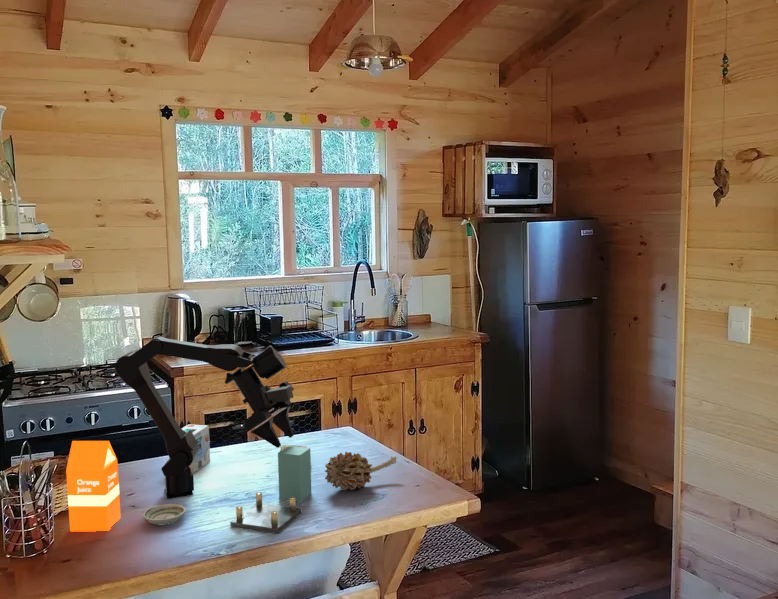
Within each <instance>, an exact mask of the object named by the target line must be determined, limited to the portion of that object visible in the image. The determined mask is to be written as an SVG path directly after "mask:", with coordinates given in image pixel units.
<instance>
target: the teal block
mask: <svg viewBox="0 0 778 599" xmlns="http://www.w3.org/2000/svg"><path fill="white" fill-rule="evenodd" d="M296 446H297V445H294V446H288V447H286V448H285V449H283V450H282V451H278V452H277V463H278V470H277V471H278V494H279V495H278V499H279V500H280V499H283V500H282V501H287V500H290V497H295V499H296V501H298V503H302V502H303V501H304V500H305V499H307V498H308V497H309V496H310V495H312V471H311V470H312V464H311V463H312V462H311V447H307V448H305V447H296Z"/></svg>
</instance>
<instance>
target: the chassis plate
mask: <svg viewBox="0 0 778 599" xmlns="http://www.w3.org/2000/svg"><path fill="white" fill-rule="evenodd" d="M296 503H297V502H296V499H295V497H290V501H289V506H285V505H280V504H279V505H278V504H270V503H263V493H262V492H256V493H255V503H254V504H253V505H252V506H250V507H249V508H247V509H246V510H245V511H243V506H241V505H240V506H236V508H235V510H236V511H235V514H236V516H235V518H233V520H231V521H230V527H231V528H235V529H241V528H242V529H243V530H249V531H256V532H261V533H262V532H263V533H267V534H269V533H270V534H274V535H278V534H279V533H280V532H282V531H283V530H284V529H286V527H287V526H288V525H290V524H291V523H292V522H294V520H296V519H297V518H298V517H299V516H300V515H301V514H302V508H301V507H297V506H296Z"/></svg>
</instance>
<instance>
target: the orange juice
mask: <svg viewBox="0 0 778 599" xmlns="http://www.w3.org/2000/svg"><path fill="white" fill-rule="evenodd" d="M68 455H69V456H68V459H67V460H68V461H67V465H66V469H65V474H66V485H67V486H66V487H67V488H66V489H67V506H68V518H69V531H70V533H71V532H72V533H73V532H76V533H77V532H86V533H87V532H89V533H90V532H93V533H94V532H96V531H108V532H109V531H110V530H111V529H112V528H113V527H114V526H115V525H116V524H117V523H118V522H119V520H121V518H122V517H121V503H120V501H121V500H120V497H121V496H120V493H121V492H120V482H119V467H118V466H119V465H118V464H119V463H118V458H117V456H116V453H115V452H114V449H113V447H112V445H111V442H110V440H72V441H71V446H70V451H69V454H68ZM116 522H117V523H116ZM115 523H116V524H115ZM114 524H115V525H114ZM113 525H114V526H113ZM112 526H113V527H112ZM111 527H112V528H111Z"/></svg>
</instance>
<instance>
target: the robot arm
mask: <svg viewBox="0 0 778 599" xmlns="http://www.w3.org/2000/svg"><path fill="white" fill-rule="evenodd" d="M158 355H162V356H168V357H174V358H179V359H186V360H192V361H198V362H203V363H206V364H208V365H211V366H212V367H215V368H218V369H220V370H223V371H225V372H226V371H227V373H226V376H225V377H226V378H225V380H224V384H230V383H233V382H234V384H235V386H236V388H238V390H239V392H240V394H241V395H242V397H243V398H244V399H242V403H243V404H245V405H246V404H248V406H249V407H250V409H251V412H252V413H251V416H249V417H247V418H246V419H244V420H243V425H242V426H243V428H244V430H245V431H246V432H247V433H248V432H250V434H253V435H255V436H258V437H259V438H261V439H263V440H264V441H266V442H268V444H270V445H272V446H274V447H275V448H277V449H279V448H281V446H282V444H281V442H280V439H279V437H278V435H277V433H276V431H275V429H274V427H273V424H274V426H276V427H277V428H278V429H280V430H281V432H283V433H284V434H285V435H286V436H287V437H288V438H292V437H294V432H293V429H292V428H293V427H292V425H291V421H290V417H289V413H290V409H291V406H292V405H291V404H292V402H291V399H293V398H294V394H293V392H294V389H295V388H294V387H293V386H292V384H290V383H289V381H282V382H280V383H279V386H278V387H275V388H271V387H270V385H268V384H267V385H264V383H263V382H262V380H261V379H266V380H269V379H270V378H273V377H274V376H275V375H277V374H278V373H280V372H281V371H283V370H284V369H286V368H287V363H286V361H285V359H284V357H283V356H282V355H281V353H279V352H278V351H277V349H275V348H274V347H273V346H272V345H269V346H267V347H266V348H265V349H264V350H262V351H261V352H260V353H258V354H257V355H256V354H253V353H250V352H248V351H245V350H243V348H242V347H241V346H239V344H232V343H230V344H227V343H226V344H225V343H224V344H223V343H221V344H214V345H213V344H211V345H209V344H202V343H196V342H191V341H190V342H189V341H184V340H179V339H171V338H165V337H163V336H160V335H159V336H156V337H153V338H152V339H151V340H150V341H148V343H147V344H145V345H144V346H142V347H141V348H139V349H138V350H136V351H135V350H133V351H130V352H127V353H125V354H124V355H122V356H120V357H119V358H118V359H117V360H116V362H115V365H114V371H115V372H116V375H118V377H119V378H120V379H121V380H122V381H123V383H125V385H127V386H128V387H130V388H131V389H133V390H134V392H135V393H136V395H137V396H138V397H139V399H140V401H141V403H142V404H143V406H144V407H145V409H146V411H147V413H148V414H149V416H150V417H151V419H152V421H153V422H154V423H155V425H156V427H157V429H158V430H159V432H160V433H161V436H162V437H163V439H164V445H165V448H166V452H167V456H168V459H167V460H166V462H165V463H164V465H163V466H162V467H161V472H162V474H163V476H164V494H165V497H166V498H165V499H167V500H172V499H179V498H183V497H191V496H193V495H194V491H195V483H194V482H195V481H194V473H192V472H191V469H190V467H189V466H190V465H191V463H192V462H193V460H194V459H195V458H196V456H197V455H198V451H199V447H198V445H197V444H198V443H199V441H197V440H196V439H195V438H194V435H193V433H192V431H191V430H189V431H188V432H185V431H184V430H182V428H181V427H180V425H179V424H178V422H177V420H176V419H175V417H174V416H173V414H172V413H171V411H170V409H169V407H168V405H167V404H166V403H165V401H164V399H163V398H162V396H161V394H160V393H159V391H158V389H157V388H156V386H155V384H154V383H153V381H152V376H151V372H150V367H149V365H148V361H151V360H152V359H153V358H154V357H155V356H158ZM233 371H234V372H233Z"/></svg>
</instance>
